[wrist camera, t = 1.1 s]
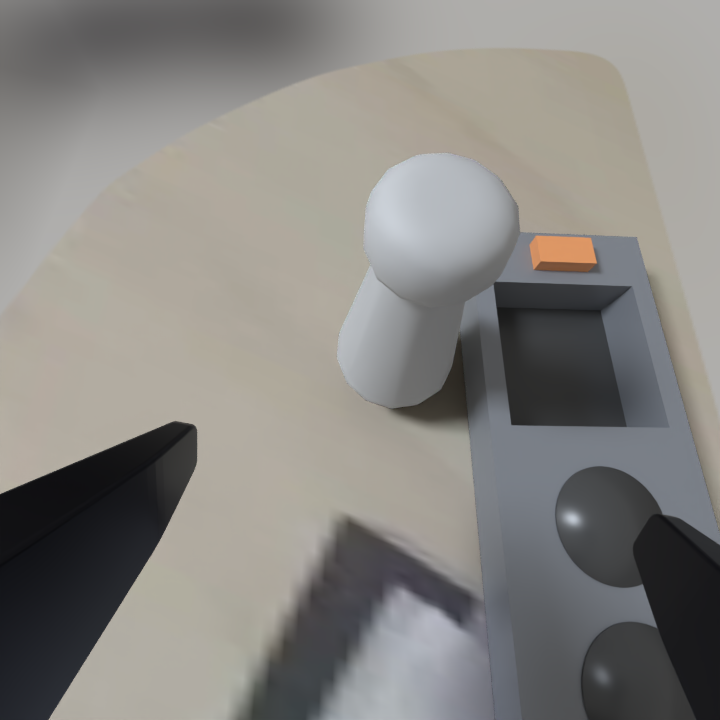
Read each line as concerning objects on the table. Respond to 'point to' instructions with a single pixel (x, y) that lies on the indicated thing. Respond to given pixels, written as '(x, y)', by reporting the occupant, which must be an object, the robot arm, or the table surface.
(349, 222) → the table surface
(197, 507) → the table surface
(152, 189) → the table surface
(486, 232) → the salt shaker
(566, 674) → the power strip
